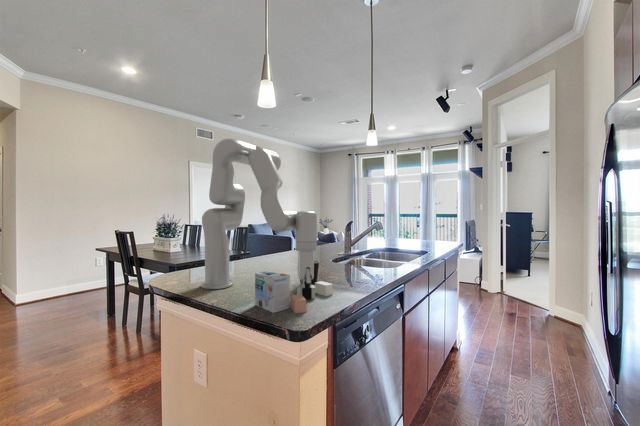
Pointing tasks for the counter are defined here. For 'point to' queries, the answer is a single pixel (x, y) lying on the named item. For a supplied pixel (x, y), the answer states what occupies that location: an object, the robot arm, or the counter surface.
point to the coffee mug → (316, 266)
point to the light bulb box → (272, 291)
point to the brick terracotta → (298, 303)
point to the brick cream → (324, 288)
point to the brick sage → (299, 290)
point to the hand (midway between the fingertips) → (306, 296)
